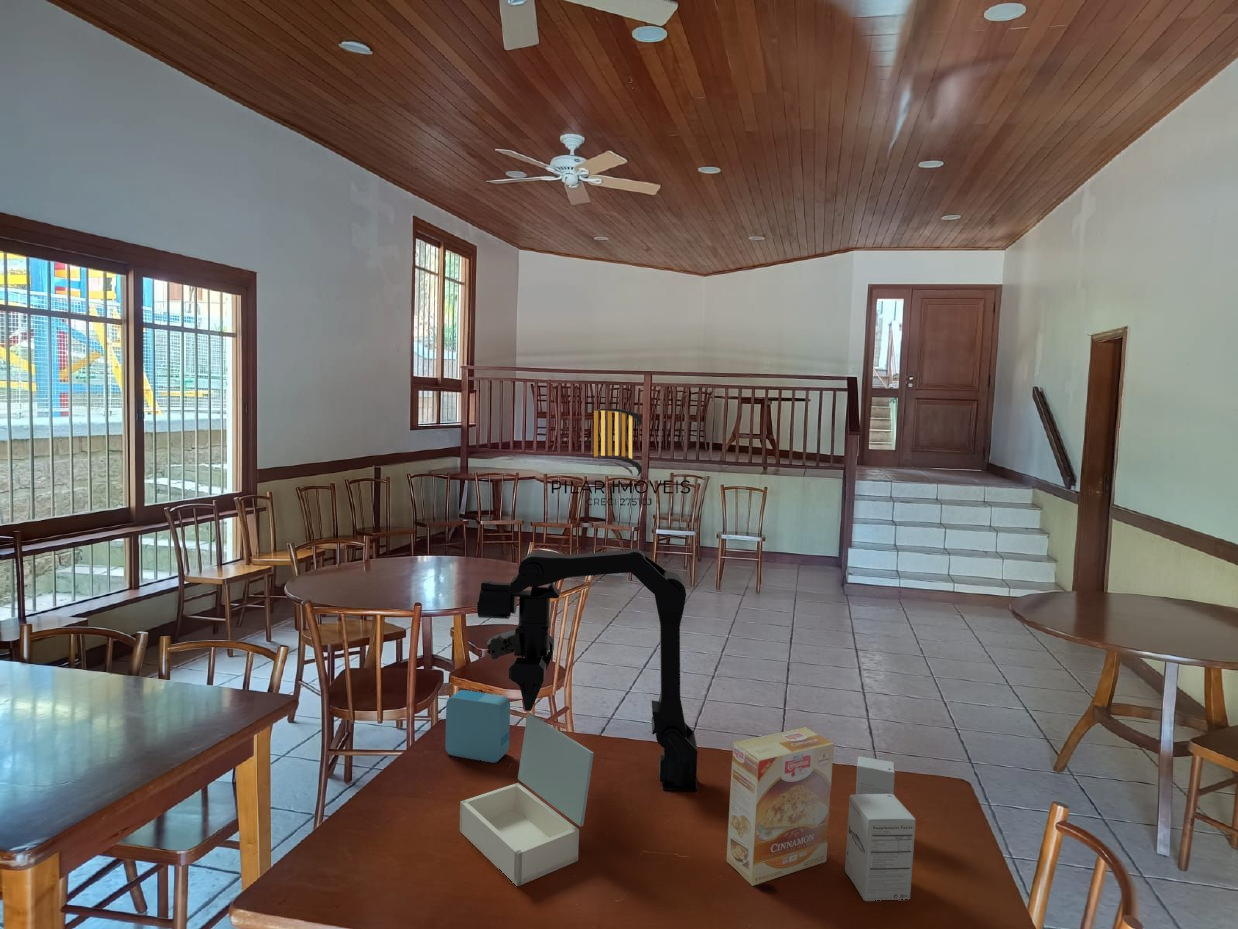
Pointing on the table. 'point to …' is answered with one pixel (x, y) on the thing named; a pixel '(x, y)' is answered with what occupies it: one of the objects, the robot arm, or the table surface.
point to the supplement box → (880, 847)
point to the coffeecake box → (779, 804)
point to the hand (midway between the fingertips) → (531, 701)
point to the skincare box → (874, 776)
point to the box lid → (556, 768)
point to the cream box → (519, 833)
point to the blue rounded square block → (477, 726)
